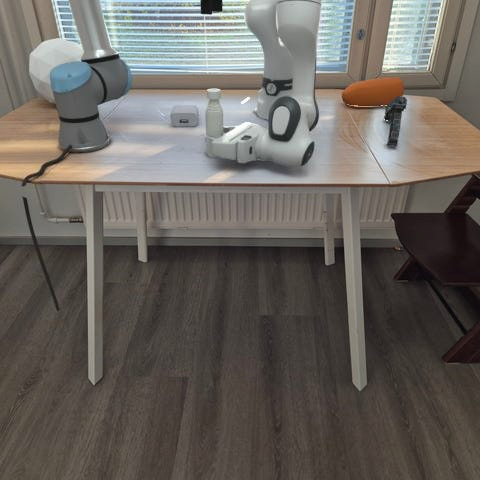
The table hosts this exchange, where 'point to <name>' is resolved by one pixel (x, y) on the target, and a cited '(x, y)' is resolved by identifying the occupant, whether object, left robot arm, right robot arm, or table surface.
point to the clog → (373, 92)
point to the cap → (213, 93)
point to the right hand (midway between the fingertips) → (215, 133)
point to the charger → (184, 116)
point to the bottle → (213, 122)
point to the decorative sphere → (51, 62)
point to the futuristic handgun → (395, 118)
